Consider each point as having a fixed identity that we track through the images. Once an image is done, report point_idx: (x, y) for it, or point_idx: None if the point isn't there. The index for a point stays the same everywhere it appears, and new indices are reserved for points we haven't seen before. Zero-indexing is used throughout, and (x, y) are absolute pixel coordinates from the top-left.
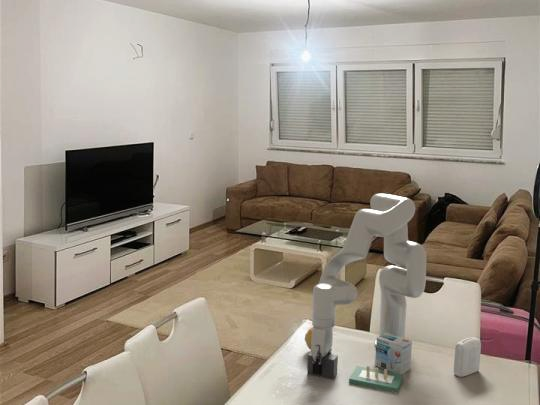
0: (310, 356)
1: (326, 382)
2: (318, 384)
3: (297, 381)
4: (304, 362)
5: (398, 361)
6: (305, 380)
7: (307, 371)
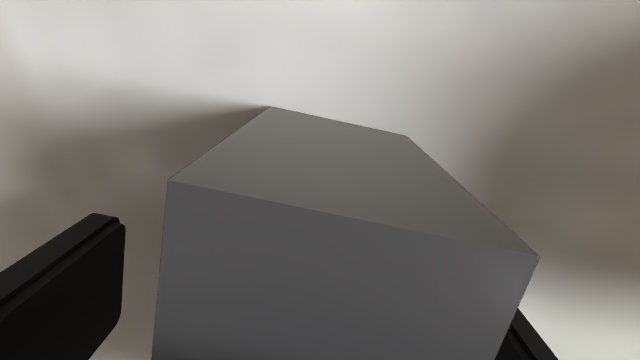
0: (170, 249)
1: (150, 312)
2: None
3: (50, 11)
4: (590, 21)
5: None
6: (112, 106)
7: (263, 111)
